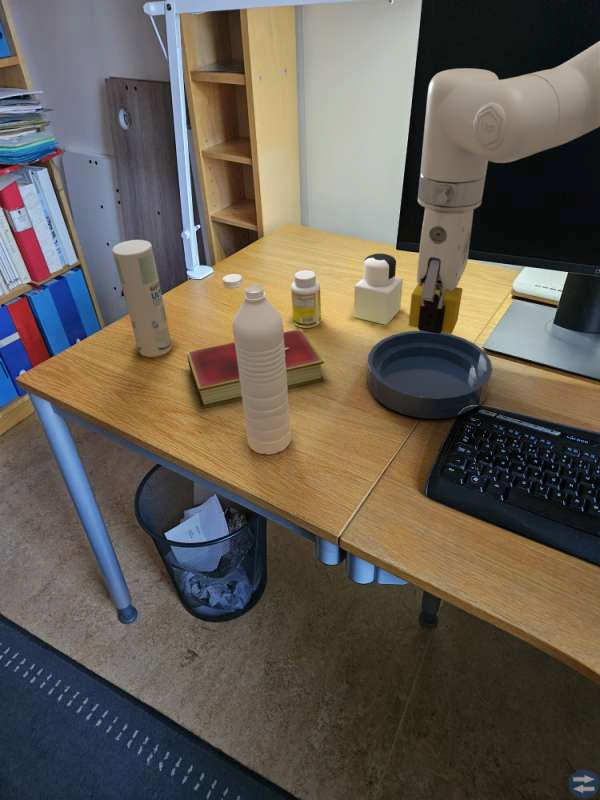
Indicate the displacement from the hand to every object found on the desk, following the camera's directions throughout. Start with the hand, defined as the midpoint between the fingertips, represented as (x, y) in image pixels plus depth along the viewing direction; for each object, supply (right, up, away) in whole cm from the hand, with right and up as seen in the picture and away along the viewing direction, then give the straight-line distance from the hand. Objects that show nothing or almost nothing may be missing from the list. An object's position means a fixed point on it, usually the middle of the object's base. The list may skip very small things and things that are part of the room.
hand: (433, 321), depth 78 cm
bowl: (+2, -8, +15) cm, 17 cm away
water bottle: (-24, -17, +6) cm, 30 cm away
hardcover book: (-26, -7, +19) cm, 33 cm away
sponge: (0, 0, 0) cm, 0 cm away
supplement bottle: (-17, +4, +33) cm, 38 cm away
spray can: (-46, -1, +28) cm, 54 cm away
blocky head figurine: (-3, +6, +35) cm, 35 cm away
